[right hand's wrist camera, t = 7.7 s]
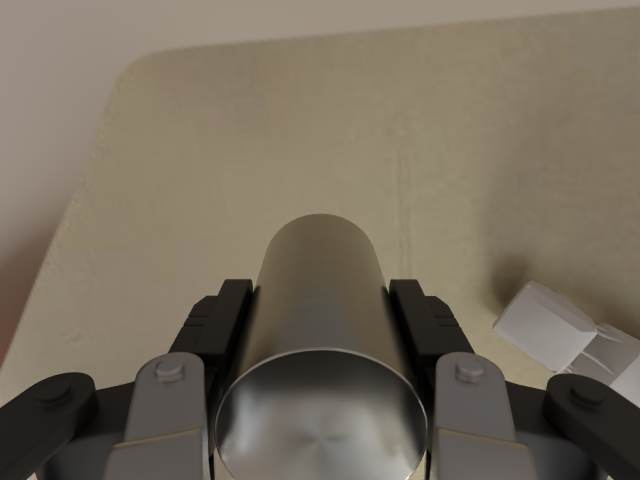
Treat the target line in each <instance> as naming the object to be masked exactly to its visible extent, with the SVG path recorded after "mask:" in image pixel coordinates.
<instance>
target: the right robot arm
mask: <svg viewBox="0 0 640 480" xmlns="http://www.w3.org/2000/svg"><path fill="white" fill-rule="evenodd" d="M252 296H253V285H252V280H251V279H226V280H225V281H224V283H223V285H222V287H221V289H220V291H219V294H218V296H206V297H204V298H203V299H202V300H200V301H199V302H198V303H196V304H195V305H194V306H193V308H192V310H191V312H190V314H189V315H188V318H187V319H186V321H185V323H184V324H183V325H184V326H183V327H182V328H181V330H180V332H179V333H178V335H177V337H176V339H175V341H174V343H173V344H172V346H171V348H170V350H169V352H168V353H167V354H164V355H161V356H158V357H156V358H154V359H152V360H150V361H149V362H147V363H146V364H145V365H144V366H142V368H141V369H140V370H139V371H138V373H137V375H136V379H135V381H133V382H131V383H127V384H123V385H118V386H114V387H109V388H104V389H100V390H96V388H95V384H94V381H93V379H92V378H91V377H90V376H89V375H87V374H84V373H78V372H71V373H63V374H59V375H55V376H52V377H49V378H46V379H44V380H42V381H40V382H38V383H36V384H34V385H33V386H31V387H29V388H28V389H27V390H25V391H24V392H22V393H21V394H19V395H18V396H17V397H15V398H14V399H12V400H11V401H10V402H8V403H7V404H5V405H4V406H2V407H1V408H0V480H26V479H28V478H29V477H30V476H31V475H32V474H33V473H34V472H35V474H36V477H37V480H216V464H215V453H214V450H215V447H216V442H215V438H214V422H215V415H216V411H217V408H218V405H219V402H220V399H221V395H222V392H223V389H224V386H225V383H226V379H227V376H228V373H229V370H230V366H231V363H232V360H233V357H234V354H235V350H236V347H237V344H238V341H239V337H240V334H241V331H242V328H243V325H244V321H245V318H246V315H247V312H248V308H249V305H250V302H251V299H252ZM389 297H390V300H391V303H392V306H393V309H394V312H395V315H396V319H397V322H398V325H399V328H400V331H401V334H402V337H403V340H404V343H405V347H406V350H407V353H408V356H409V359H410V362H411V365H412V368H413V371H414V375H415V378H416V381H417V384H418V387H419V390H420V393H421V396H422V399H423V403H424V406H425V409H426V412H427V416H428V423H429V435H428V441H427V446H426V453H425V464H424V480H607V477H608V475H609V476H610V477H611V478H612V479H614V480H640V408H639V407H638V406H636V405H635V404H633V403H632V402H630V401H629V400H628V399H626V398H625V397H623V396H622V395H621V394H619V393H618V392H616V391H615V390H613V389H612V388H610V387H609V386H607V385H605V384H604V383H602V382H600V381H597V380H595V379H592V378H589V377H586V376H583V375H578V374H569V373H566V374H558V375H555V376H553V377H551V378H550V379H549V381H548V383H547V387H546V390H541V389H536V388H532V387H527V386H522V385H518V384H514V383H511V382H508V381H506V380H505V379H504V375H503V373H502V371H501V370H500V369H499V368H498V366H496V365H495V364H494V363H493V362H491V361H490V360H488V359H486V358H484V357H482V356H479V355H476V354H475V352H474V350H473V349H472V347H471V345H470V343H469V342H468V340H467V338H466V336H465V334H464V333H463V331H462V329H461V327H459V324H458V322H457V320H456V319H455V318H454V315H453V313H452V311H451V310H450V308H449V306H448V305H447V304H446V303H444V302H443V301H442V300H440V299H439V298H438V297H436V296H425V295H424V293H423V291H422V289H421V287H420V285H419V283H418V281H417V280H416V279H391V281H390V286H389Z"/></svg>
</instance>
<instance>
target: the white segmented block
mask: <svg viewBox="0 0 640 480" xmlns="http://www.w3.org/2000/svg"><path fill="white" fill-rule="evenodd" d="M493 329H494V330H495V331H496V332H497V333H498V334H499V335H501V336H502V337H504V338H505V339H506V340H508V341H509V342H511V343H512V344H513V345H515V346H516V347H518V348H519V349H520V350H522V351H523V352H525V353H526V354H528V355H529V356H530V357H532V358H533V359H535V360H536V361H537V362H539V363H540V364H542V365H543V366H544V367H546V368H547V369H549V370H550V371H552V372H554V373H561V372H562V373H564V374H566V373H568V372H567V371H565V369H566V368H567V367H568V368H569V369H570V370H571V371H572V372H573V373H574V374H578V375H583V376H586V377H589V378H592V379H595V380H597V381H600V382H602V383H604V384H605V385H607V386H609V387H610V388H612V389H613V390H615V391H616V392H618V393H619V394H621V395H622V396H623V397H625V398H626V399H628V400H629V401H630V402H632V403H633V404H635V405H636V406H638V407H639V408H640V340H638V339H636V338H634V337H632V336H630V335H628V334H626V333H624V332H622V331H621V330H619V329H617V328H615V327H613V326H611V325H609V324H607V323H604V322H602V323H599V324H598V325H596V324H594V322H593V320H592V319H591V318H590V317H589V316H588V315H587V314H586V313H584V312H583V311H582V310H581V309H580V308H579V307H578V306H576V305H575V304H573V303H572V302H570V301H569V300H567V299H566V298H564V297H562V296H561V295H559V294H558V293H556V292H555V291H553V290H552V289H550V288H548V287H546V286H544V285H542V284H540V283H539V282H537V281H535V280H530V281H528V282H526V283H525V285H524V286H523V287H522V288H521V290H520V291H519V292H518V293H517V295H516V296H515V297H514V298H513V300H512V301H511V302H510V303H509V305H508V306H507V307H506V308H505V310H504V311H503V312H502V313H501V315H500V316H499V317H498V319H497V320H496V321H495V322H494V324H493ZM569 374H570V373H569Z"/></svg>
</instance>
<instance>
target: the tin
mask: <svg viewBox="0 0 640 480" xmlns="http://www.w3.org/2000/svg"><path fill="white" fill-rule="evenodd" d="M428 435H429V423H428V416H427V412H426V409H425V406H424V403H423V399H422V396H421V393H420V390H419V387H418V384H417V381H416V378H415V375H414V371H413V368H412V365H411V362H410V359H409V356H408V353H407V350H406V347H405V343H404V340H403V337H402V334H401V331H400V328H399V325H398V322H397V319H396V315H395V312H394V309H393V306H392V303H391V300H390V297H389V294H388V290H387V287H386V284H385V281H384V278H383V275H382V272H381V269H380V266H379V262H378V259H377V256H376V253H375V250H374V247H373V245H372V243H371V241H370V240H369V238H368V237H367V235H366V234H365V233H364V232H363V231H362V230H361V229H360V228H359V227H358V226H357V225H355V224H354V223H352V222H350V221H348V220H346V219H344V218H342V217H339V216H335V215H330V214H311V215H306V216H303V217H300V218H297V219H295V220H293V221H291V222H289V223H288V224H286V225H285V226H283V227H282V228H281V229H280V230H279V231H278V232H277V233H276V234H275V235H274V237H273V238H272V240H271V241H270V243H269V245H268V248H267V251H266V254H265V257H264V260H263V263H262V267H261V270H260V273H259V276H258V280H257V283H256V286H255V289H254V292H253V296H252V299H251V302H250V305H249V308H248V312H247V315H246V318H245V321H244V325H243V328H242V331H241V334H240V337H239V341H238V344H237V347H236V350H235V354H234V357H233V360H232V363H231V366H230V370H229V373H228V376H227V379H226V383H225V386H224V389H223V392H222V395H221V399H220V402H219V405H218V408H217V411H216V415H215V422H214V438H215V442H216V447H217V450H218V453H219V456H220V458H221V460H222V462H223V464H224V465H225V467H226V469H227V470H228V471H229V473H230V474H231V475H232V476H233V478H234V479H235V480H407V479H408V478H409V477H410V476H411V475H412V473H413V472H414V471H415V470H416V468H417V467H418V465H419V463H420V461H421V460H422V457H423V455H424V452H425V450H426V446H427V441H428Z"/></svg>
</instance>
